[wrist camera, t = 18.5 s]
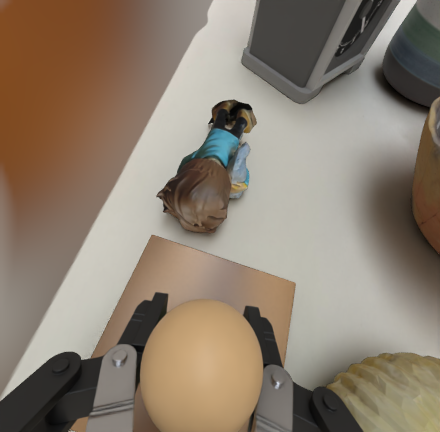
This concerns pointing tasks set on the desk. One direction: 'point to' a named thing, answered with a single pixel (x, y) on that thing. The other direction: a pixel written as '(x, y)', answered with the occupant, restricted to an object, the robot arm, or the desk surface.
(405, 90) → the vase
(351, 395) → the seashell
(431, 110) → the bowl
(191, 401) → the peg doll
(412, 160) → the desk surface
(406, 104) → the desk surface
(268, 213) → the desk surface
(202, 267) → the cork mat
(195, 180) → the figurine
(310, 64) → the alarm clock
